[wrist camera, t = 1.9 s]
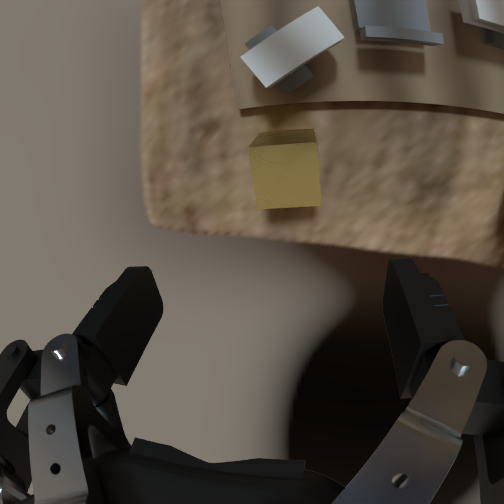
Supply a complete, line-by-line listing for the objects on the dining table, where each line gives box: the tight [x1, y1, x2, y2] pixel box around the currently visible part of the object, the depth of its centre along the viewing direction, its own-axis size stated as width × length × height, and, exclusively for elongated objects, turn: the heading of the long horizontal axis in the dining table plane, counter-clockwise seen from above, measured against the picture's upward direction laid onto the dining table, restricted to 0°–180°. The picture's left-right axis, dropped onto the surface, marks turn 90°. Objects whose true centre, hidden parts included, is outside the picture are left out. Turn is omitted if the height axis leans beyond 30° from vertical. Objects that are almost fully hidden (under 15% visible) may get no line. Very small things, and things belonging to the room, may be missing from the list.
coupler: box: [248, 129, 321, 209], centre depth 22 cm, size 4×4×6 cm
